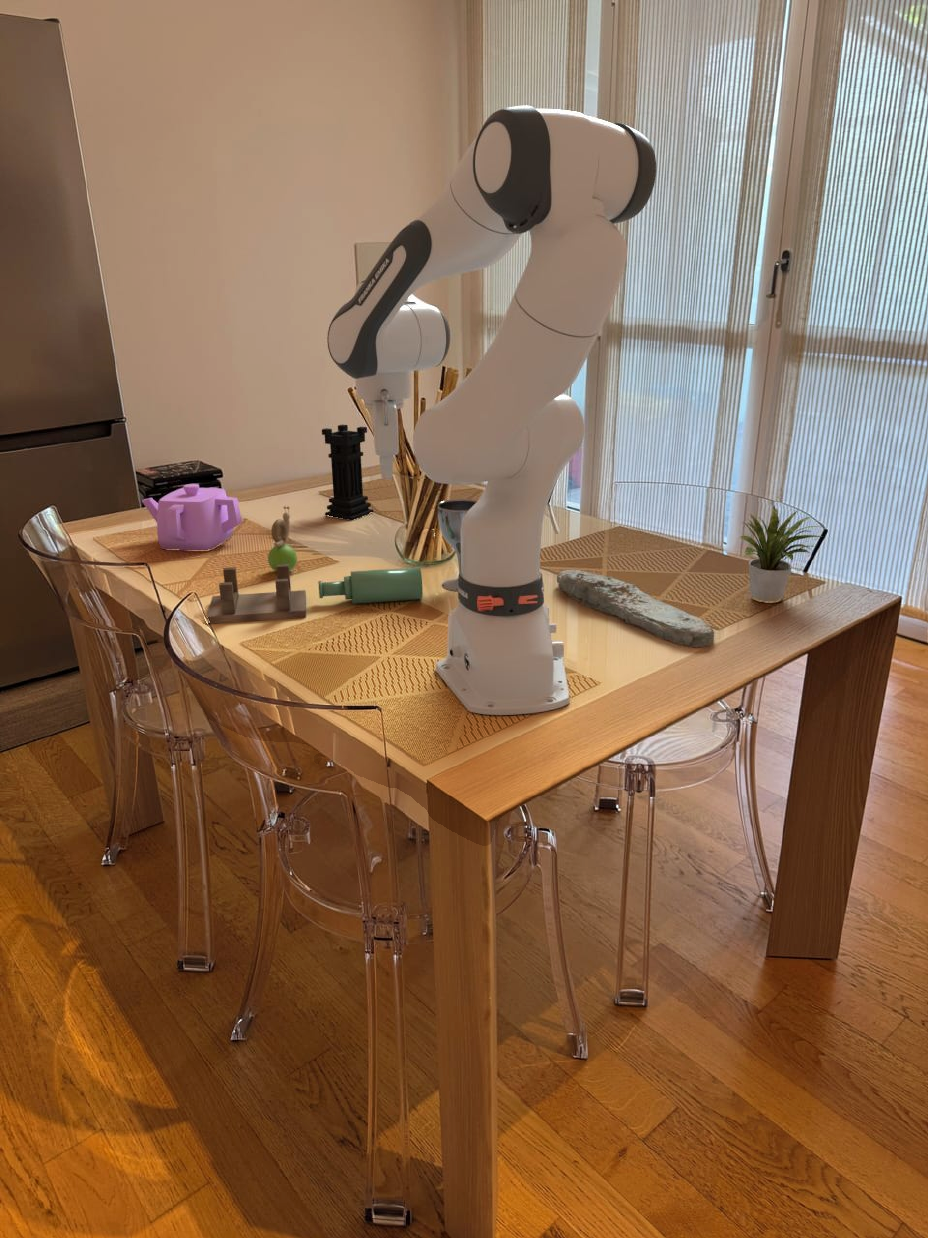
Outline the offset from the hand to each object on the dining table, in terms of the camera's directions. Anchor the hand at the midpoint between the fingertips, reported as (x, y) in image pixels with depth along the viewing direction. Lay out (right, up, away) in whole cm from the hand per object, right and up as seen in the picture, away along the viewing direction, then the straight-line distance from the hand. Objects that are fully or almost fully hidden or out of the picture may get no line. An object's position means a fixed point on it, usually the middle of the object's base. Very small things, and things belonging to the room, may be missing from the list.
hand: (386, 471), depth 150 cm
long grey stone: (+41, -24, +2) cm, 47 cm away
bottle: (-3, -22, +8) cm, 23 cm away
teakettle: (-44, -8, +43) cm, 62 cm away
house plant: (+65, -22, +6) cm, 68 cm away
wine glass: (+12, -18, +16) cm, 27 cm away
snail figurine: (-21, -15, +24) cm, 36 cm away
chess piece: (-14, 0, +62) cm, 63 cm away
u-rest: (-22, -23, +5) cm, 32 cm away
